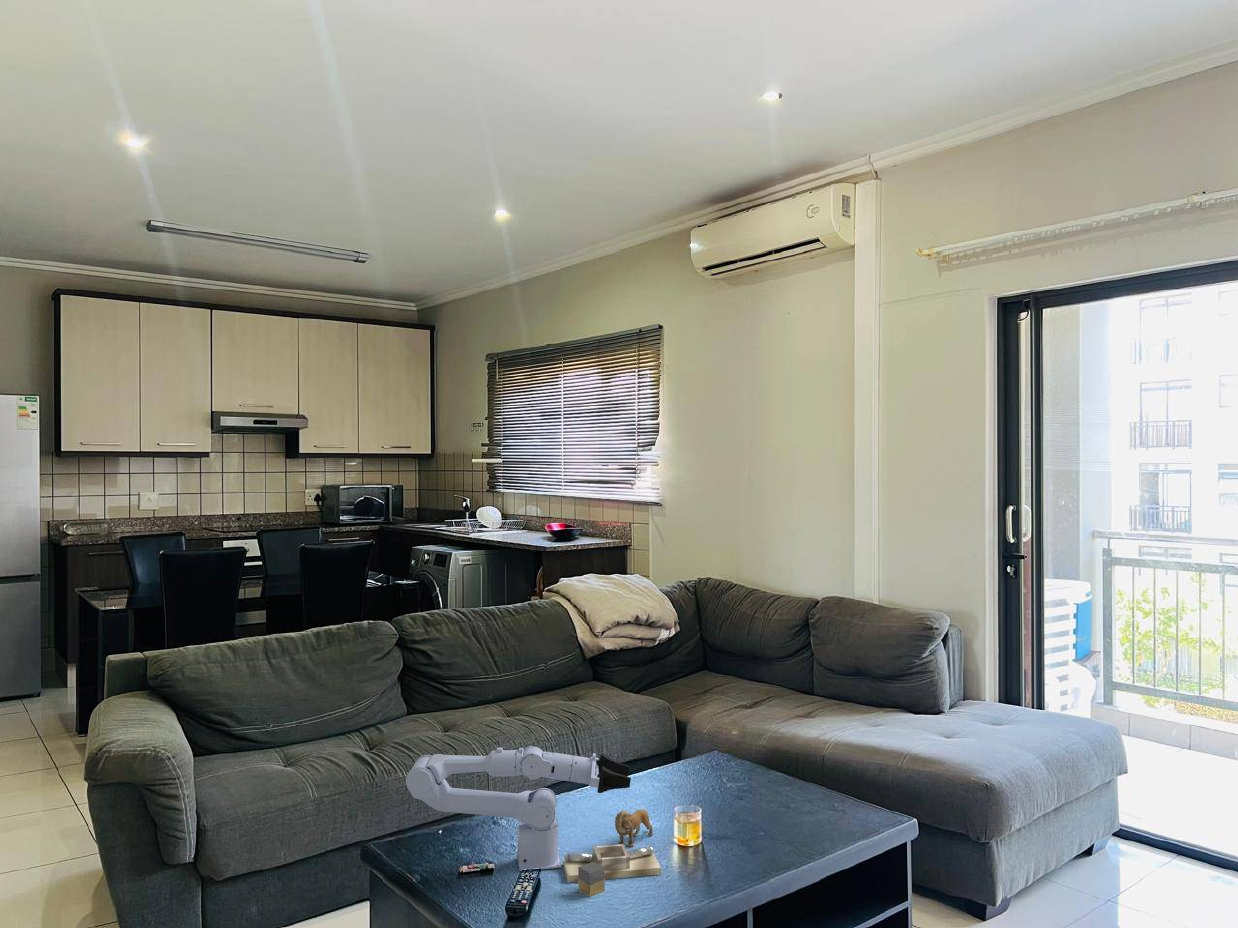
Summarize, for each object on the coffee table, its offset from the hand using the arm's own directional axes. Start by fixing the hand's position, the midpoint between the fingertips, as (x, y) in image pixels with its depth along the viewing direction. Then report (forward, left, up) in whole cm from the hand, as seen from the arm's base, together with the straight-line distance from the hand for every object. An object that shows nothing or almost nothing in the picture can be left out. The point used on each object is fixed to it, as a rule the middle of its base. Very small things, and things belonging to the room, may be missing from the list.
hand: (629, 776), depth 203 cm
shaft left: (-12, -2, -18) cm, 22 cm away
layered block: (-11, -12, -20) cm, 26 cm away
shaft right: (+2, -2, -18) cm, 18 cm away
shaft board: (-5, -3, -19) cm, 20 cm away
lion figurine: (+3, +10, -20) cm, 22 cm away
